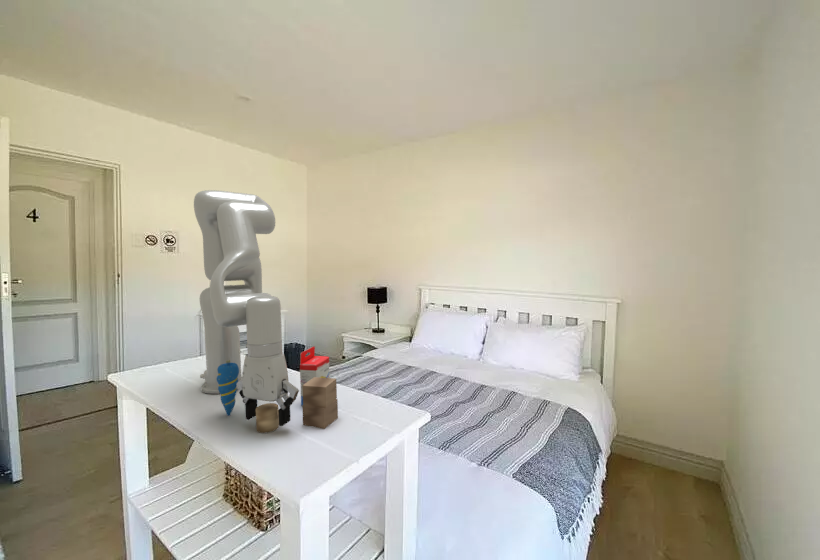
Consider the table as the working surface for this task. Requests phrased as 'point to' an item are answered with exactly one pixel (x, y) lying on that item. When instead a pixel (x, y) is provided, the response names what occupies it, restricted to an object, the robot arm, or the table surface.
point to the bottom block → (320, 415)
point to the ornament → (228, 384)
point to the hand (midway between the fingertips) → (268, 420)
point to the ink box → (312, 367)
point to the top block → (319, 392)
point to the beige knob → (267, 418)
